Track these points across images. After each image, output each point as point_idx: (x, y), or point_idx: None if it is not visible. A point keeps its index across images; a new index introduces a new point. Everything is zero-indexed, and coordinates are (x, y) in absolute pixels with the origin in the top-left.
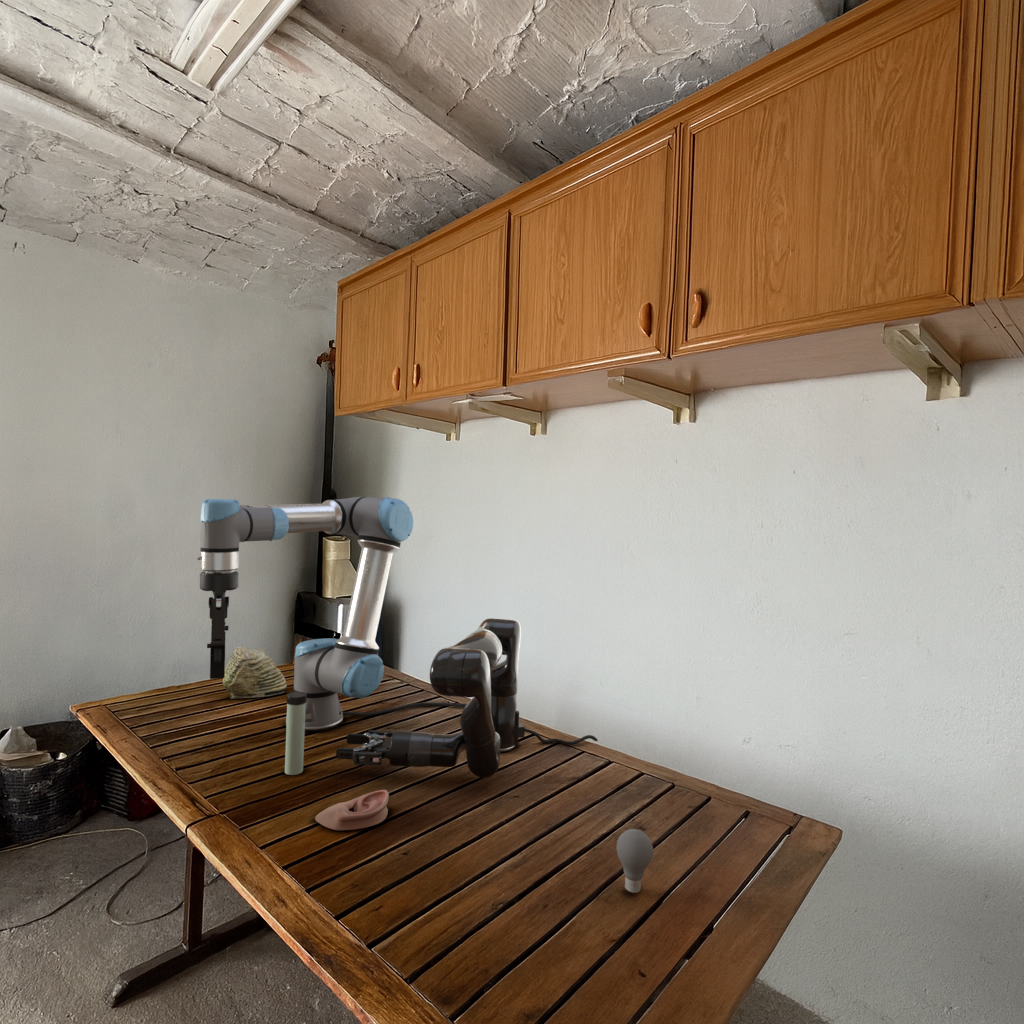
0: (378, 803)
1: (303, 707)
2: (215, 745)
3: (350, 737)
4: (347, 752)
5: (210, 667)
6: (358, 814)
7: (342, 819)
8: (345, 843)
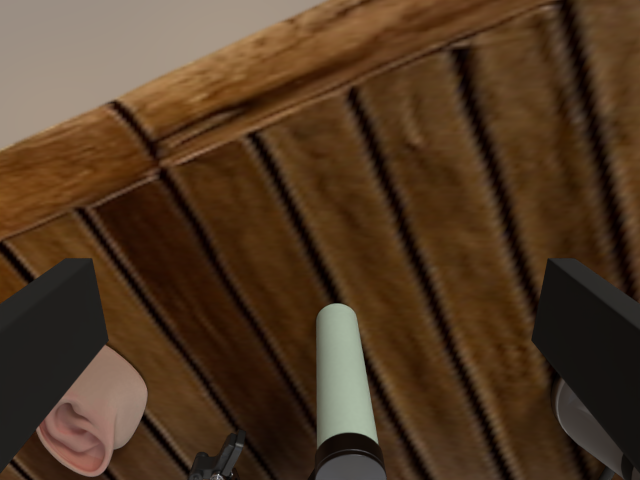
0: (75, 450)
1: None
2: (591, 149)
3: None
4: (218, 460)
5: (10, 301)
6: None
7: None
8: None
